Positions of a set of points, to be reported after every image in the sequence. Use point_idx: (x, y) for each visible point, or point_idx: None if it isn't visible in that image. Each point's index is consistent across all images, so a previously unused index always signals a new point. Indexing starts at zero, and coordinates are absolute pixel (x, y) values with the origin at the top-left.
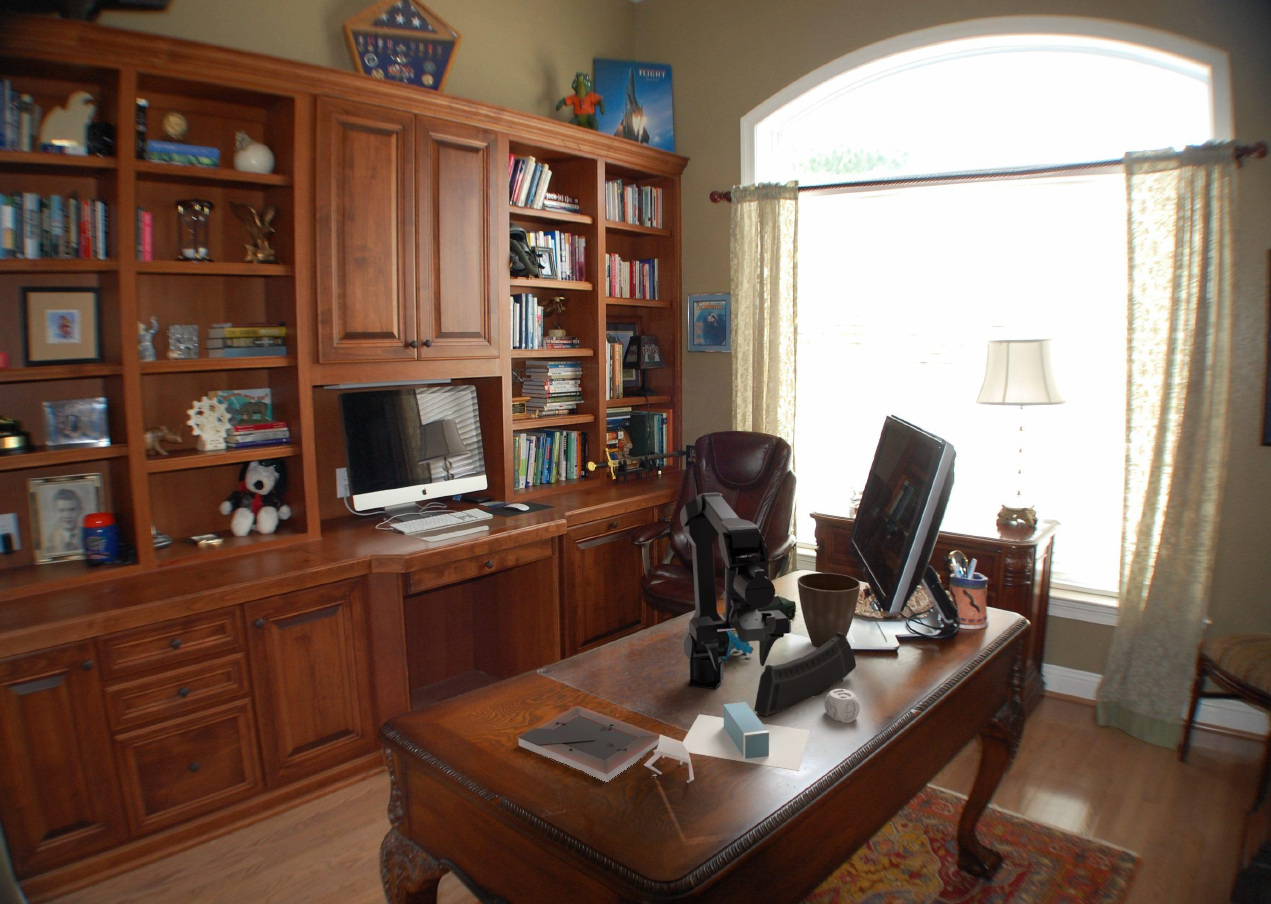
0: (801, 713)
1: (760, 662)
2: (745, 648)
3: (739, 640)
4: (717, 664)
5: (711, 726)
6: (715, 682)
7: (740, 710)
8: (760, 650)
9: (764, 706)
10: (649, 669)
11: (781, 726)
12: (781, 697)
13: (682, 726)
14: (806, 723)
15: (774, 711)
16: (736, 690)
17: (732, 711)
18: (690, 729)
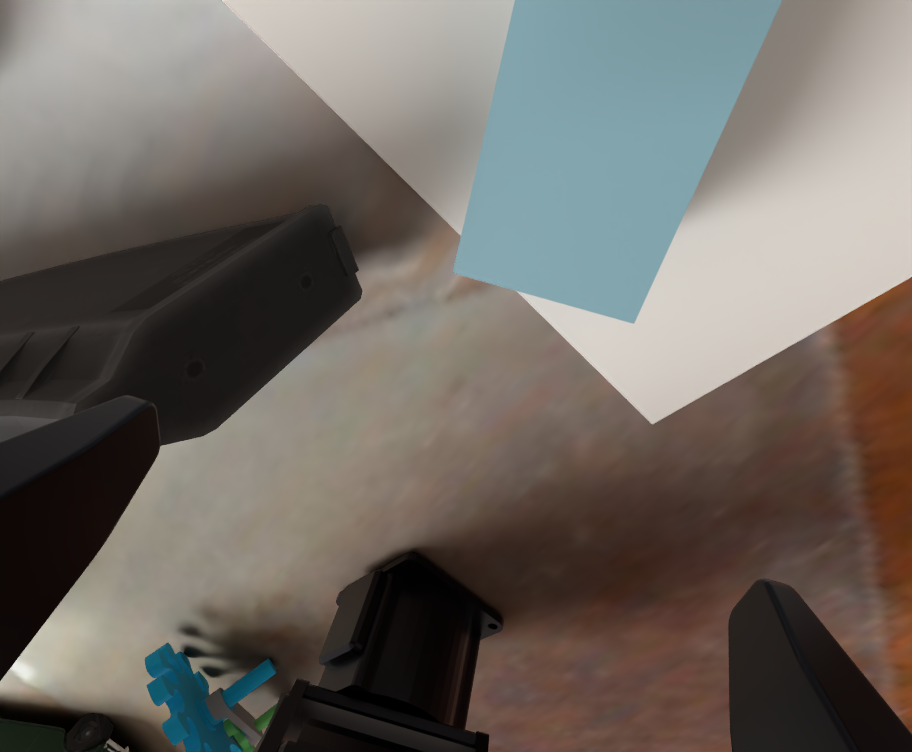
0: (106, 176)
1: (142, 461)
2: (174, 673)
3: (179, 720)
4: (823, 668)
5: (693, 284)
6: (397, 579)
7: (582, 168)
8: (20, 611)
9: (304, 253)
10: (560, 739)
11: (283, 57)
12: (160, 266)
13: (808, 382)
14: (110, 48)
15: (254, 224)
16: (333, 503)
17: (658, 185)
18: (837, 316)
